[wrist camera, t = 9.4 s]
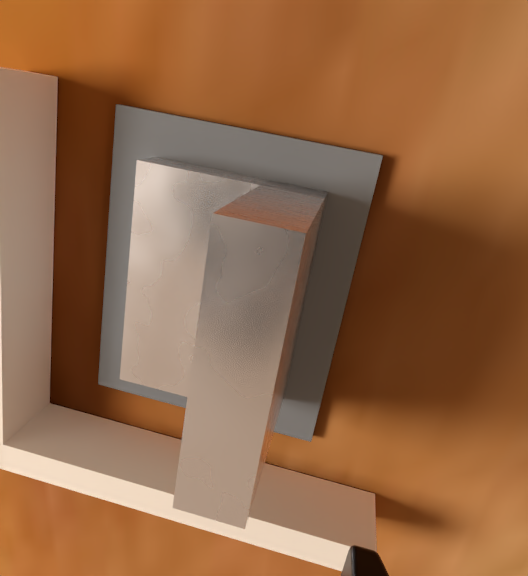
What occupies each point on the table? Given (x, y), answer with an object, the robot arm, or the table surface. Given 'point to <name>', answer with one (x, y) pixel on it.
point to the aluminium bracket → (217, 316)
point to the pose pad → (263, 164)
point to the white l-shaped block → (99, 431)
